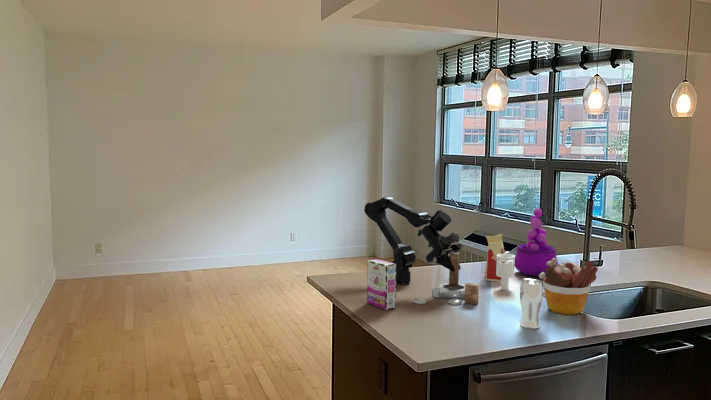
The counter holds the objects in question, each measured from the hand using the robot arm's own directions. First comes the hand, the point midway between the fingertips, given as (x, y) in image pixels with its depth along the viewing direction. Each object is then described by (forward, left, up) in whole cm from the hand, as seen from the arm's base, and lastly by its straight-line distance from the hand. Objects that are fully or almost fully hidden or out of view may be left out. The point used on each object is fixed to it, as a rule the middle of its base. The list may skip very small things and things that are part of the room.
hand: (457, 270), depth 217 cm
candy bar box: (-28, -17, -10) cm, 34 cm away
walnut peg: (-1, +1, -7) cm, 7 cm away
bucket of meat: (+38, -14, -10) cm, 42 cm away
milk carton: (+18, +28, -10) cm, 35 cm away
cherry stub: (+5, -9, -10) cm, 14 cm away
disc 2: (-1, -10, -10) cm, 15 cm away
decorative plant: (+37, +38, -10) cm, 54 cm away
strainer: (+20, +12, -10) cm, 25 cm away
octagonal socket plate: (-1, +1, -10) cm, 10 cm away
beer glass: (+22, -32, -10) cm, 40 cm away
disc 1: (-14, -11, -10) cm, 21 cm away
